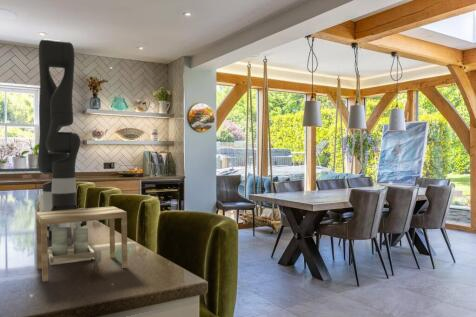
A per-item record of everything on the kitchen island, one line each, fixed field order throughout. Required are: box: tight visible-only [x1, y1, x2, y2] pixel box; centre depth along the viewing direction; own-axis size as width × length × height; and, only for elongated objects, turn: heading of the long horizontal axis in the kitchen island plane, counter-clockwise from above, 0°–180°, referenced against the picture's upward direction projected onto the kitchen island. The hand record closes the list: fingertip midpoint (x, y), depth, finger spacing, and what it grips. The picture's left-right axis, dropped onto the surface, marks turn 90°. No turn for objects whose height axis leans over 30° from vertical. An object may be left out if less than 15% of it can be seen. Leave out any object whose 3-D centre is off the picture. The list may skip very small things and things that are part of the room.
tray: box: [47, 226, 96, 266], centre depth 126 cm, size 22×12×9 cm, turn 29°
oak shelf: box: [35, 206, 129, 283], centre depth 110 cm, size 14×21×16 cm, turn 122°
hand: (65, 240), depth 134 cm, fingers open, 7 cm apart
